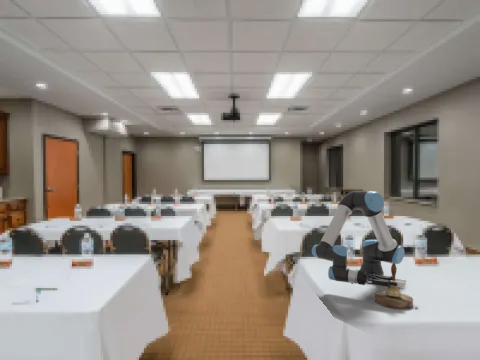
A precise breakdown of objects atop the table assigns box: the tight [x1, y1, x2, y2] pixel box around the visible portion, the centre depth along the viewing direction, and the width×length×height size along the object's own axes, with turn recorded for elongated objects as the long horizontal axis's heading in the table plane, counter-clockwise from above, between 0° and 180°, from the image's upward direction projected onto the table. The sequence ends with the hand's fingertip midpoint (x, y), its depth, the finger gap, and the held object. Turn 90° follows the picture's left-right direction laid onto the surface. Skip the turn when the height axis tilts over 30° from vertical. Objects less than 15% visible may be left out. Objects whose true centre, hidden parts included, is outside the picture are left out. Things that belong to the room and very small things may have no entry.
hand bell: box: [385, 263, 403, 297], centre depth 180 cm, size 8×8×16 cm
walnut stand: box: [374, 290, 414, 310], centre depth 180 cm, size 18×18×3 cm
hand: (405, 283), depth 178 cm, fingers open, 4 cm apart
